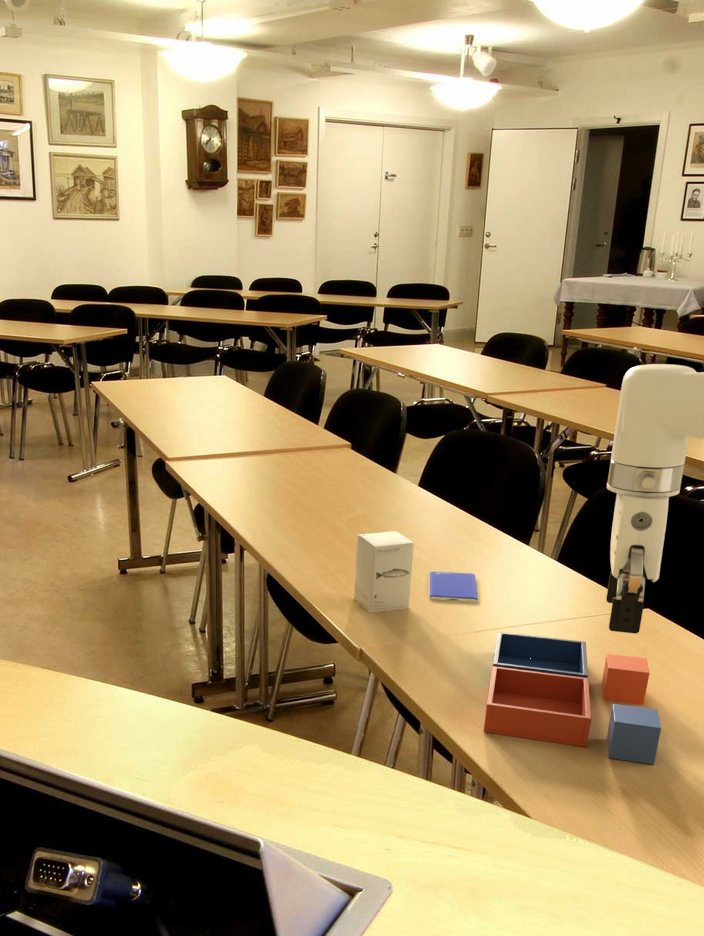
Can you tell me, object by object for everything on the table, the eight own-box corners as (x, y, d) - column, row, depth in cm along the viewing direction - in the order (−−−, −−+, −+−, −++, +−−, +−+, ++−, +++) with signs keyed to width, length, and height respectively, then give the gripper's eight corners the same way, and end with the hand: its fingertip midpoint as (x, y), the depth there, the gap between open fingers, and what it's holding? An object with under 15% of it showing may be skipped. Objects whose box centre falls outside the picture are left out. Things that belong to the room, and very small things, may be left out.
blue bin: (581, 666, 134) (585, 641, 133) (583, 702, 124) (588, 675, 123) (495, 655, 139) (498, 631, 137) (490, 689, 128) (493, 663, 127)
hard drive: (429, 571, 170) (429, 595, 159) (475, 573, 168) (478, 597, 157) (429, 578, 171) (428, 603, 160) (474, 581, 169) (477, 606, 158)
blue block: (650, 745, 113) (657, 709, 111) (654, 764, 109) (661, 728, 107) (606, 738, 115) (612, 703, 113) (608, 758, 110) (614, 721, 108)
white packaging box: (369, 617, 155) (373, 546, 150) (352, 601, 161) (356, 533, 156) (409, 612, 156) (415, 542, 151) (391, 597, 163) (396, 529, 158)
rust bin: (584, 704, 123) (588, 677, 122) (586, 747, 113) (591, 718, 111) (489, 691, 128) (492, 666, 126) (483, 731, 117) (486, 704, 116)
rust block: (640, 690, 127) (646, 658, 125) (643, 706, 122) (649, 672, 121) (601, 685, 128) (606, 653, 127) (602, 701, 124) (608, 667, 122)
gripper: (689, 497, 95) (662, 647, 101) (674, 463, 110) (650, 596, 116) (610, 492, 98) (588, 639, 104) (606, 460, 112) (587, 590, 119)
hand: (621, 616), depth 110 cm, fingers open, 9 cm apart
